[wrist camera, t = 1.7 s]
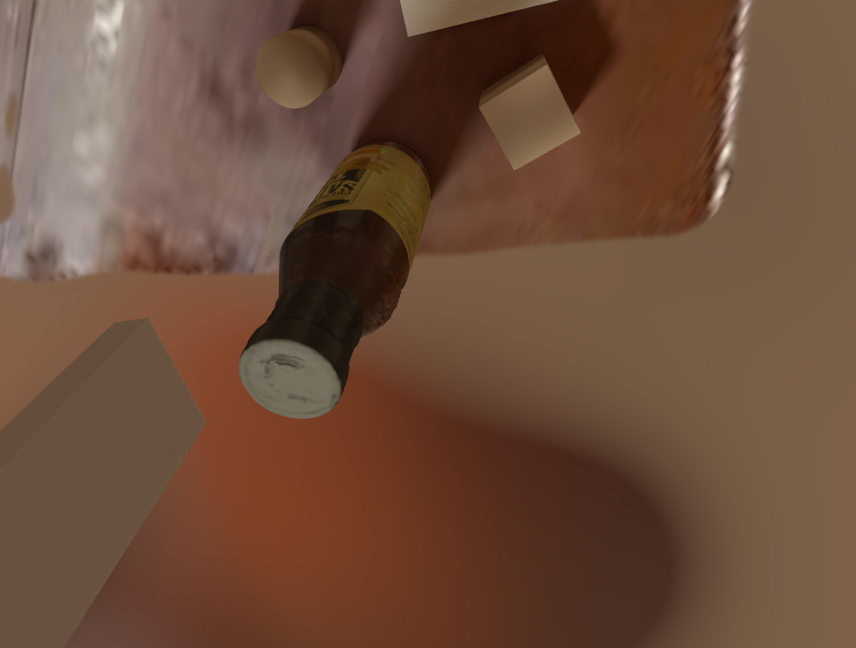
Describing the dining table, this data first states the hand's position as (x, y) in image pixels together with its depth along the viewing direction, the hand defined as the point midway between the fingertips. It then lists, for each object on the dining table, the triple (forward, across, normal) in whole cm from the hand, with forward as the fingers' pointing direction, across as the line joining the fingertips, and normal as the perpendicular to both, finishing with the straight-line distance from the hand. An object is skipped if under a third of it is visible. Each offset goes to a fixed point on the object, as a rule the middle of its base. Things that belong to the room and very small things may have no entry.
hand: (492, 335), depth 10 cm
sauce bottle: (+27, -8, -5) cm, 29 cm away
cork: (+27, -11, +3) cm, 29 cm away
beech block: (+27, +1, -2) cm, 27 cm away
